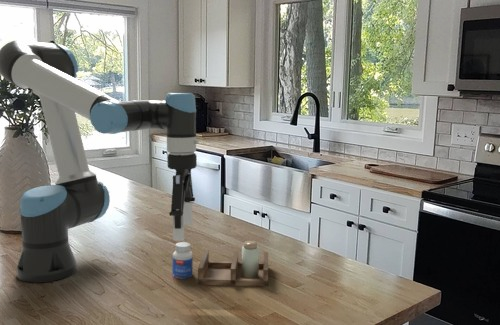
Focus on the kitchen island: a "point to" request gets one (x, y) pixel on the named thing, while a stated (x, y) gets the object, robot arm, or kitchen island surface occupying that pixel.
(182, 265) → the pill bottle
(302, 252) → the kitchen island surface
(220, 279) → the rack
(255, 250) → the jar
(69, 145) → the robot arm
